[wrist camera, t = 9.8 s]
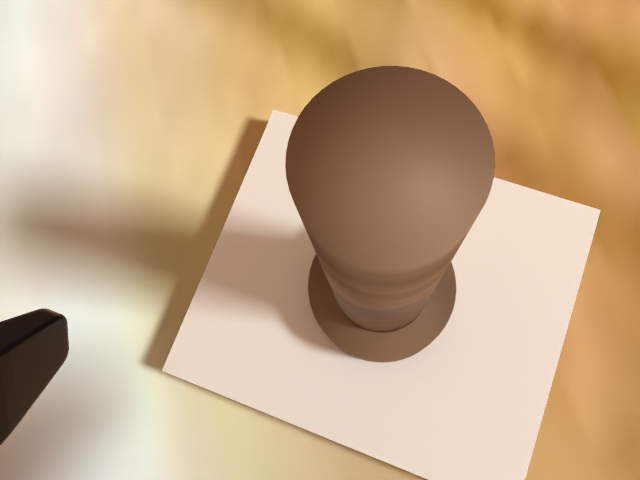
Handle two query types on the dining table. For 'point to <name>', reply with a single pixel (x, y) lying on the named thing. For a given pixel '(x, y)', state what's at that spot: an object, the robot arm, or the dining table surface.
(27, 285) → the dining table surface
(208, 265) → the tile
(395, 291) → the tamper
